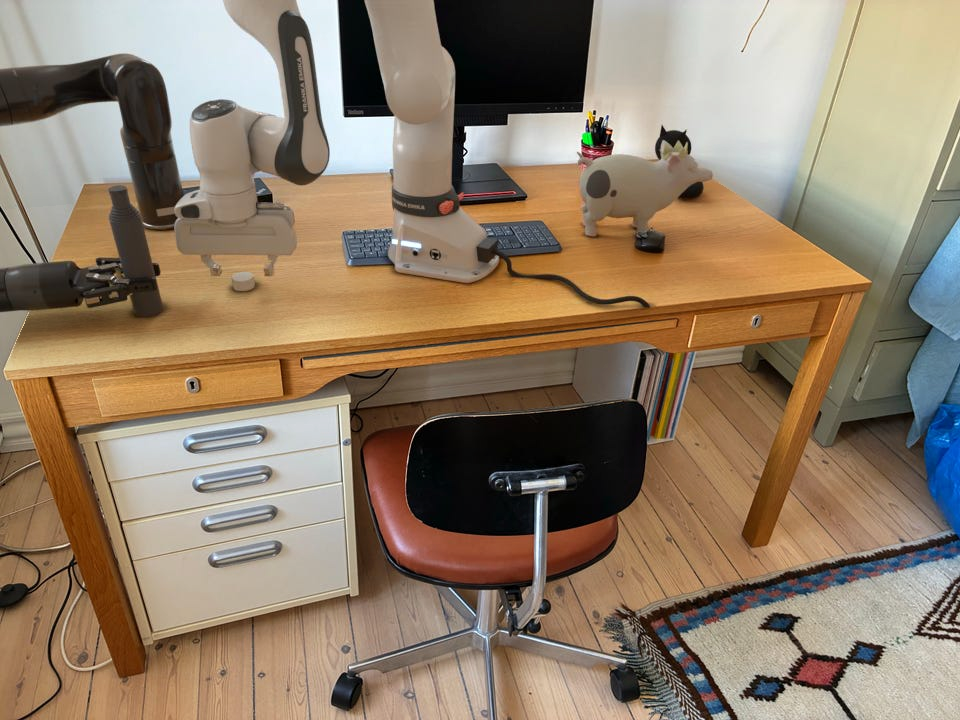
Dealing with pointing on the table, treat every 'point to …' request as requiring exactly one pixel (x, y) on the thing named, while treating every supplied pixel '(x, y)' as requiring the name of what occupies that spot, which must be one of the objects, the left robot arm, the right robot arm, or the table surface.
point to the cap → (243, 281)
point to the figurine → (635, 185)
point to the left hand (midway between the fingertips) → (157, 276)
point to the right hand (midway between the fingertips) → (243, 275)
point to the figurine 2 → (672, 139)
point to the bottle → (133, 250)
